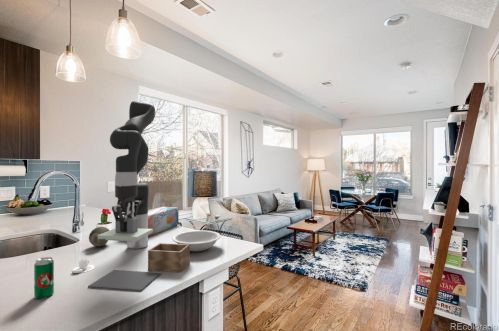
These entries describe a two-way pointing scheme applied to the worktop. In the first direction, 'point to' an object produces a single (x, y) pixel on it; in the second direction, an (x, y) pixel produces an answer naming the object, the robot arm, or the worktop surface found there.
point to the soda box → (162, 218)
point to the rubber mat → (125, 280)
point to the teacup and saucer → (82, 266)
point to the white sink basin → (197, 239)
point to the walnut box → (169, 257)
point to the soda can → (43, 277)
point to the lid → (130, 235)
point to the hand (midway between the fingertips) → (126, 230)
